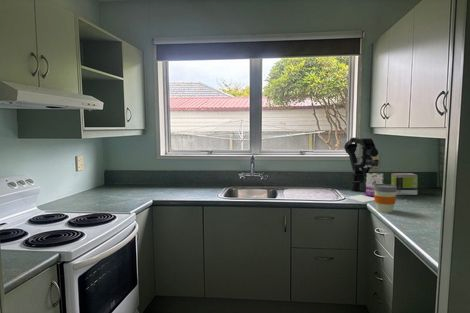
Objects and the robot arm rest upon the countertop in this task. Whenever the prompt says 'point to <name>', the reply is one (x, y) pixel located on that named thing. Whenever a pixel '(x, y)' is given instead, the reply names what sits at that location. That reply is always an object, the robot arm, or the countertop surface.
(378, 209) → the reusable coffee cup
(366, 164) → the robot arm
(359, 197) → the mat
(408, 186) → the tea box
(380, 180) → the candy bar box
